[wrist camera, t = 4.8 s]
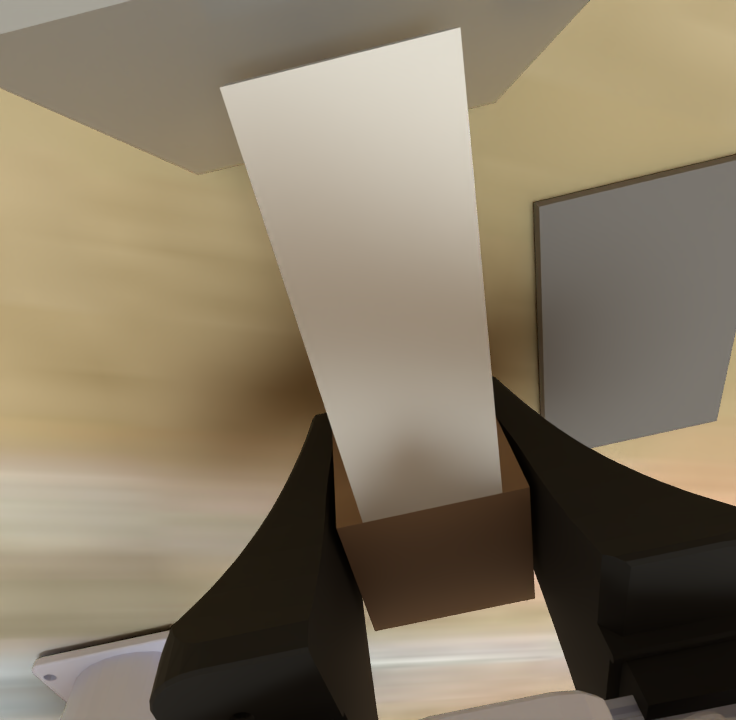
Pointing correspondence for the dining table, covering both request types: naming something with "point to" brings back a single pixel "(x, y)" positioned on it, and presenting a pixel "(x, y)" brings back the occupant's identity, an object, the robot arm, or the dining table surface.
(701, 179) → the mat
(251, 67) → the tile
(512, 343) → the dining table surface
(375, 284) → the brown white angled block
